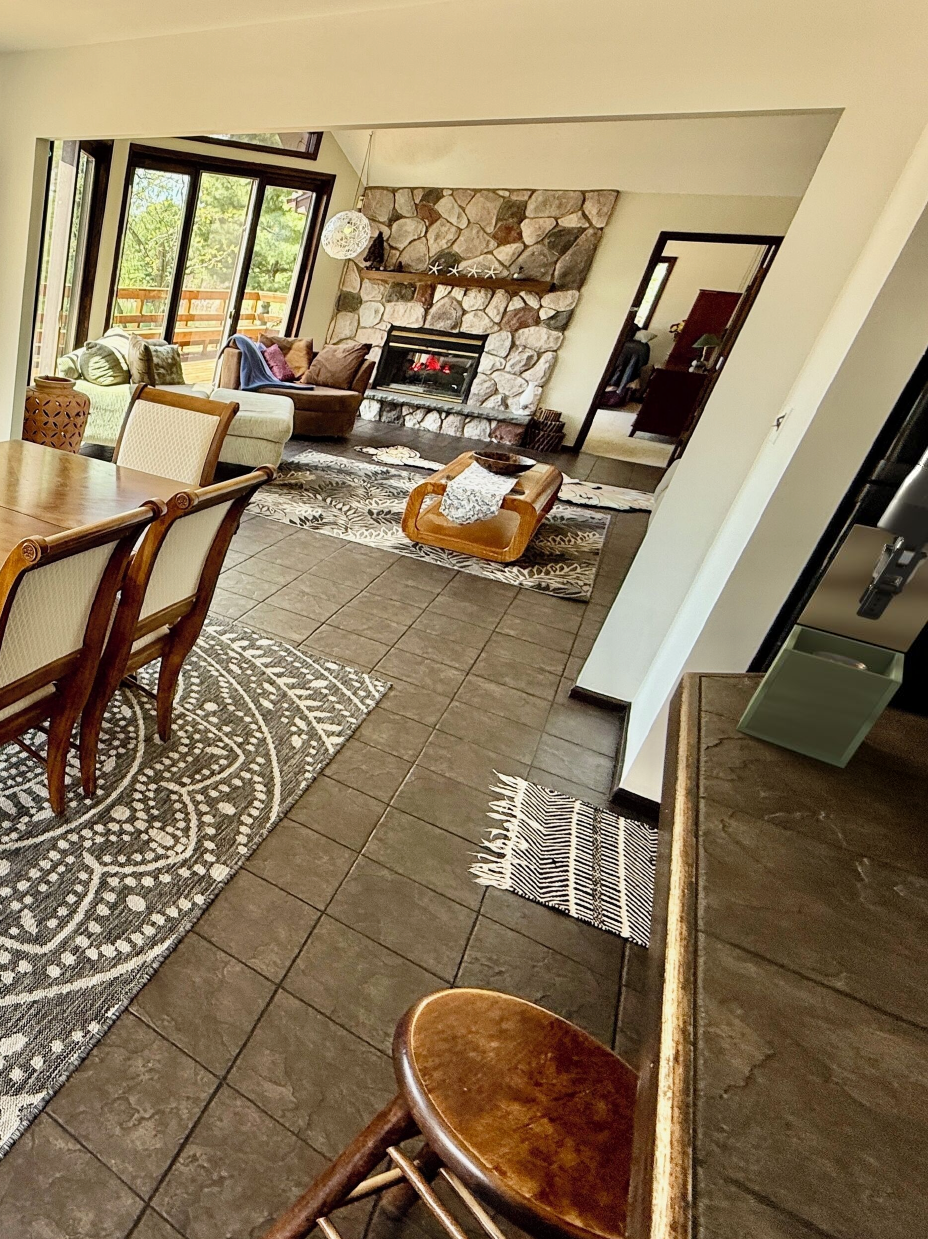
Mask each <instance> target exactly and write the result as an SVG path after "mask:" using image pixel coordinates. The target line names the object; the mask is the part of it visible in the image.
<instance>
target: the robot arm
mask: <svg viewBox="0 0 928 1239" xmlns="http://www.w3.org/2000/svg"><path fill="white" fill-rule="evenodd" d="M876 528H877V529H880V530H882V531H884V532H887V533H890V534H894V535H897V536H896V537H894V539H893V540H894V541H893V543H892V544H887V543H886V544H885V546H884V547H883V549H882V551H881V553H880V556H879V559H878V560H877V562H876V564H875V566H874V568H875V569H874V572H873V574H872V575H871V576H872V579H875V580H871V582H870V583H869V585H868V587H867V588H866V590H865V591H864V593H863V595H862V596H861V598H860V599H859V603H860V604H861V605H860V607H859V609H858V610H857V613H856V614H857V615H858V616H860V617H863V618H867V619H871V620H878V619H879V618H880V617H881V615H882V614H883V612H884V610H885V609H886V607H887V606H888V604H889V603H890V601H891V600H892V598H893V597H895V596H896V595H898V594H899V593H901V592H902V590H903V589H902V588H903V586H904V585H905V584H907V583H909V581H910V580H911V579H912V578H913V576H914V574H915V572H916V571H917V569H918V567H920V566H921V565H922V564H923V563H924V562H925V560H926V558H927V557H928V555H927V553H928V552H925V551H922V550H923V548H924V546H925V545H926V544H927V543H928V446H927V447H926V448H925V450H924V452H923V454H922V455H921V457H920V458H919V460H918V461H917V464H916V465H915V467H914V468H913V469H912V470H911V472H910V473H909V474H908V475H907V476H906V477H905V479H904V480H903V482H901V485H900V487H899V488H898V490H897V491H896V493H895V494H894V497H893V498H892V500H891V501H890V503H889V505H888V506H887V507H886V509H885V511H884V513H883V514H882V515H881V518H880V519H879V521H878V522H877V525H876ZM890 583H894V584H896V585H893V584H890Z"/></svg>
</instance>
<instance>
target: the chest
mask: <svg viewBox="0 0 928 1239" xmlns="http://www.w3.org/2000/svg"><path fill="white" fill-rule="evenodd" d="M814 652H827V653H832V654H836V655H840V656H844V657H847V658H850V659H853V660H855V661H858V662H860V663H862V664H864V665H865V666H866V667H867V668H868V669H867V670H866V671H865V670H862V669H858V668H855V667H851V666H848V665H845V664H841V663H838V662H834V661H831V660H827V659H824V658H821V657H817V656H814V655H813V653H814ZM904 661H905V654H904V653H901V652H898V651H897V652H896V651H894V650H890V649H886V648H883V647H879V646H876V645H875V646H874V645H872V644H867V643H865V642H860V641H858V640H853V639H850V638H847V637H842V636H839V635H835V634H832V633H829V632H824V631H821V630H817V629H814V628H810V627H806V626H802V625H799V624H794V626H793V628H792V630H791V632H790V633H789V635H788V637H787V638H786V640H785V642H784V643H783V644H782V646H781V648H780V650H779V652H778V653H777V655H776V657H775V658H774V660H773V661H772V663H771V666H770V667H769V668H768V670H767V672H766V674H765V676H764V677H763V679H762V680H761V682H760V684H759V685H758V688H757V689H756V691H755V692H754V694H753V695H752V697H751V698H750V701H749V703H748V705H747V707H746V709H745V711H744V712H743V715H742V716H741V718H740V721H739V723H738V724H737V726H736V729H735V730H736V731H738V732H741V733H744V734H747V735H750V736H753V737H755V738H757V739H761V740H763V741H766V742H768V743H772V744H774V745H776V746H777V745H778V746H780V747H782V748H786V749H788V750H791V751H794V752H797V753H800V754H802V755H805V756H807V757H810V758H813V759H816V760H819V761H822V762H825V763H827V764H829V765H833V766H835V767H838V768H842V769H845V767H846V766H847V764H848V763H849V762H850V760H851V759H852V757H853V756H854V754H855V753H856V751H857V750H858V748H859V747H860V745H861V744H862V742H863V741H864V739H865V738H866V736H867V735H868V734H869V732H870V730H871V729H872V728H873V726H874V725H875V723H876V722H877V720H878V719H879V717H880V716H881V714H882V713H883V711H884V710H885V709H886V707H887V706H888V704H889V703H890V701H891V700H892V698H893V697H894V695H895V694H896V692H897V691H898V689H899V688H900V686H901V685H902V684H903V673H904Z"/></svg>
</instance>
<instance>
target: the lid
mask: <svg viewBox="0 0 928 1239" xmlns="http://www.w3.org/2000/svg"><path fill="white" fill-rule="evenodd" d="M896 536H897V535H894V534H890V533H887V532H884V531H882V530H880V529H879V528H878V527H871V526H867V525H863V524H858V523H857V524H856V523H855V524H854V525H853V527H852V528H851V530H850V531H849V533H848V535H847V537H846V539H845V540H844V542H843V543H842V544H841V547H840V548H839V550H838V552H837V554H836V555H835V557H834V559H833V560H832V562H831V564H830V565H829V567H828V568H827V571H826V573H825V574H824V576H823V577H822V579H821V581H820V582H819V584H818V586H817V588H816V589H815V591H814V593H813V594H812V596H811V598H810V599H809V601H808V603H807V604H806V606H805V608H804V610H803V611H802V613H801V615H800V616H799V618H798V619H797V621H796V623H797V624H801V625H805V626H808V627H812V628H816V629H820V630H823V631H826V632H831V633H834V634H838V635H841V636H846V637H849V638H852V639H855V640H859V641H864V642H866V643H871V644H875V645H878V646H880V647H881V646H882V647H885V648H889V649H892V650H895V651H901V652H904V653H907V652H908V650H909V649H910V647H911V646H912V644H913V643H914V641H915V640H916V639H917V637H918V635H919V634H920V633H921V631H922V629H923V628H924V627H925V625H926V624H927V622H928V557H927V558H926V560H925V562H924V563H923V564H922V565H921V566H920V567H918V569H917V571H916V572H915V574H914V576H913V578H912V579H911V580H910V581H909V583H907V584H905V585H904V586H903V588H902V589H903V590H902V592H901V593H899V594H898V595H896V596H895V597H893V598H892V600H891V601H890V603H889V604H888V606H887V607H886V609H885V610H884V612H883V614H882V615H881V617H880V618H879V619H878V620H871V619H867V618H863V617H860V616H858V615H857V614H856V613H857V610H858V609H859V607H860V605H861V604H860V603H859V599H860V598H861V596H862V595H863V593H864V591H865V590H866V588H867V587H868V585H869V583H870V582H871V580H875V579H872V576H871V575H872V574H873V572H874V569H875V568H874V566H875V564H876V562H877V560H878V559H879V556H880V553H881V551H882V549H883V547H884V546H885V544H886V543H887V544H892V543H893V541H894V540H893V539H894V537H896ZM922 551H925V552H928V543H927V544H926V545H925V546H924V548H923V550H922ZM927 555H928V553H927ZM890 584H893V585H896V584H894V583H890Z"/></svg>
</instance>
